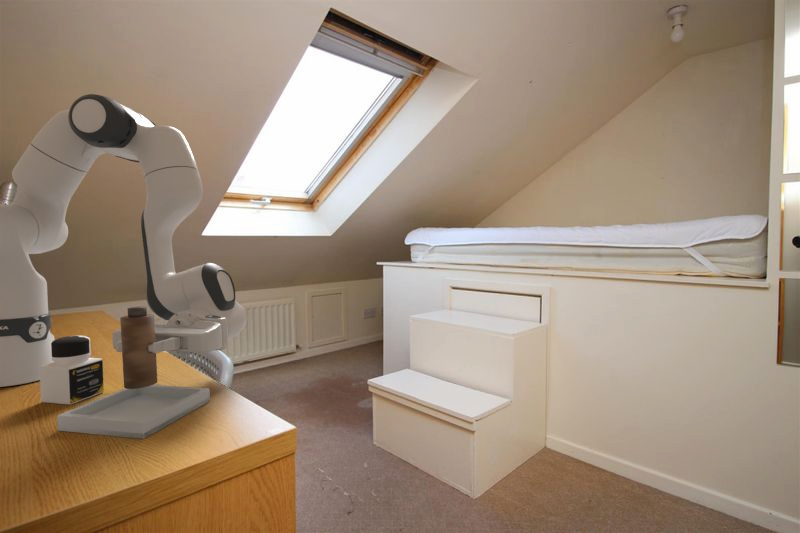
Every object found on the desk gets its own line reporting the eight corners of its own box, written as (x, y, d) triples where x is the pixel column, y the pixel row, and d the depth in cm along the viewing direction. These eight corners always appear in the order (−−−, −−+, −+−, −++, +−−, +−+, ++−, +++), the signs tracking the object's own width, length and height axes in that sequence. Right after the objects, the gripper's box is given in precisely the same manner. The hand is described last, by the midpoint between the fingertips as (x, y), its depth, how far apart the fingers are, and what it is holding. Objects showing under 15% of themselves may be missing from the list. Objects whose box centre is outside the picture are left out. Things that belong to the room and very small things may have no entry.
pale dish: (58, 430, 68) (57, 415, 68) (138, 395, 83) (137, 383, 83) (143, 438, 65) (142, 422, 64) (209, 401, 80) (209, 388, 80)
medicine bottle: (70, 405, 79) (68, 342, 78) (40, 402, 80) (37, 340, 79) (104, 392, 86) (102, 334, 85) (75, 390, 87) (73, 332, 86)
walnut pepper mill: (116, 388, 72) (112, 309, 71) (140, 378, 77) (136, 305, 76) (142, 389, 71) (138, 310, 70) (164, 380, 76) (160, 305, 75)
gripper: (145, 315, 88) (84, 328, 74) (233, 317, 84) (185, 331, 70) (146, 345, 88) (85, 363, 75) (234, 348, 84) (187, 368, 71)
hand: (135, 348), depth 73 cm, fingers closed on walnut pepper mill, 5 cm apart
